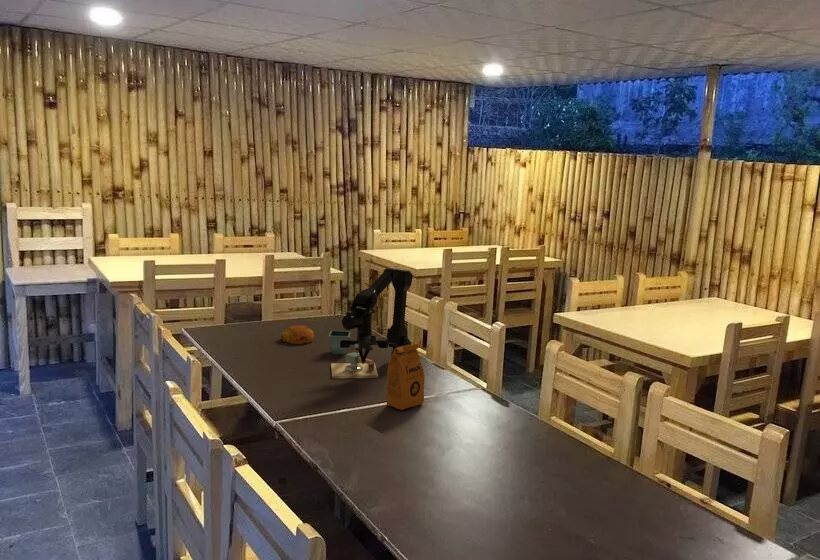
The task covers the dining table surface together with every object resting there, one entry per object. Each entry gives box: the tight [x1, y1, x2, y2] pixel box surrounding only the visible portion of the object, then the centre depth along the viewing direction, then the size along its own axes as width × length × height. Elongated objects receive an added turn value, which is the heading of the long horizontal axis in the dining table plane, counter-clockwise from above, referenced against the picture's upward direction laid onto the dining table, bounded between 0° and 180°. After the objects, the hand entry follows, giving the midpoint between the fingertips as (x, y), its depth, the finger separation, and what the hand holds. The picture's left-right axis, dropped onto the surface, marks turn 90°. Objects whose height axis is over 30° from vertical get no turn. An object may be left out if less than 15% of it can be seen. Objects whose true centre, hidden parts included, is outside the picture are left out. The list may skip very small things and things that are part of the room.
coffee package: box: [386, 342, 425, 411], centre depth 229 cm, size 10×12×22 cm
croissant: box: [280, 324, 315, 345], centre depth 308 cm, size 14×16×8 cm
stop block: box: [368, 362, 375, 371], centre depth 265 cm, size 2×2×3 cm
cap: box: [345, 351, 374, 365], centre depth 263 cm, size 11×5×3 cm, turn 55°
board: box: [330, 362, 379, 379], centre depth 266 cm, size 18×16×1 cm
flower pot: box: [328, 330, 351, 355], centre depth 290 cm, size 9×9×9 cm
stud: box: [345, 363, 363, 372], centre depth 266 cm, size 7×7×3 cm
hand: (363, 363), depth 260 cm, fingers closed
